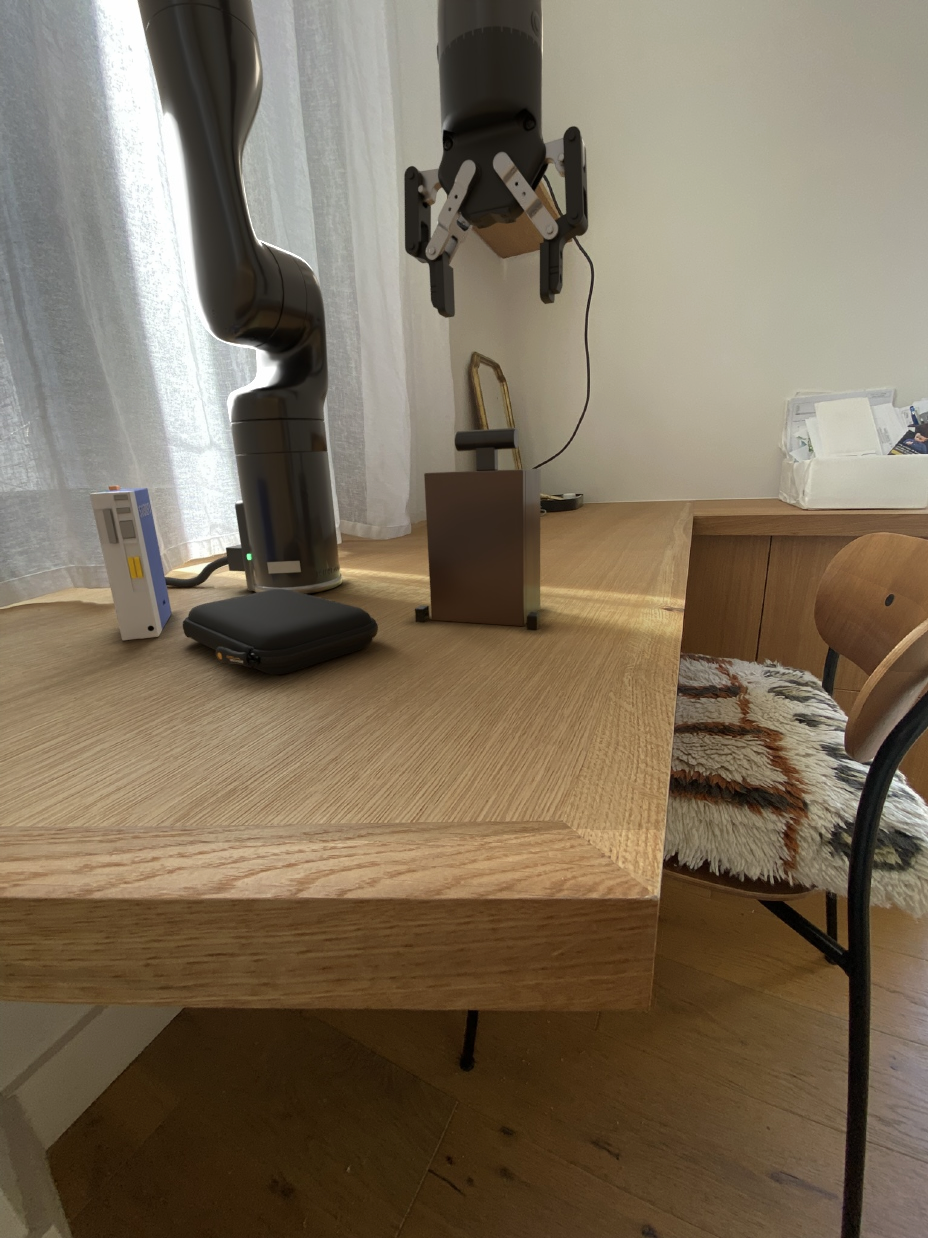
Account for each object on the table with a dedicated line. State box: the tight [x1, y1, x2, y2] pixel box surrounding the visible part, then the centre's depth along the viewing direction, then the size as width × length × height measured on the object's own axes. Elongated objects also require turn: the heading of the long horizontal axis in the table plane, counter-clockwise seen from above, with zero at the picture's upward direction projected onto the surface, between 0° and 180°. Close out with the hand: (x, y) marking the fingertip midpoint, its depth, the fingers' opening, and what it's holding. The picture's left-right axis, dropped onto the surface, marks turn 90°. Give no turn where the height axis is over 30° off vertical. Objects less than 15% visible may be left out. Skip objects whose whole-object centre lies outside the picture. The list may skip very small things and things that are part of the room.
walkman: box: [89, 485, 173, 641], centre depth 47 cm, size 8×3×12 cm, turn 20°
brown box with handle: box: [423, 427, 541, 627], centre depth 46 cm, size 15×8×6 cm
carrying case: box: [182, 589, 379, 675], centre depth 41 cm, size 11×3×15 cm
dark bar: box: [414, 604, 541, 631], centre depth 45 cm, size 10×1×1 cm, turn 70°
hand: (494, 308), depth 45 cm, fingers open, 8 cm apart
